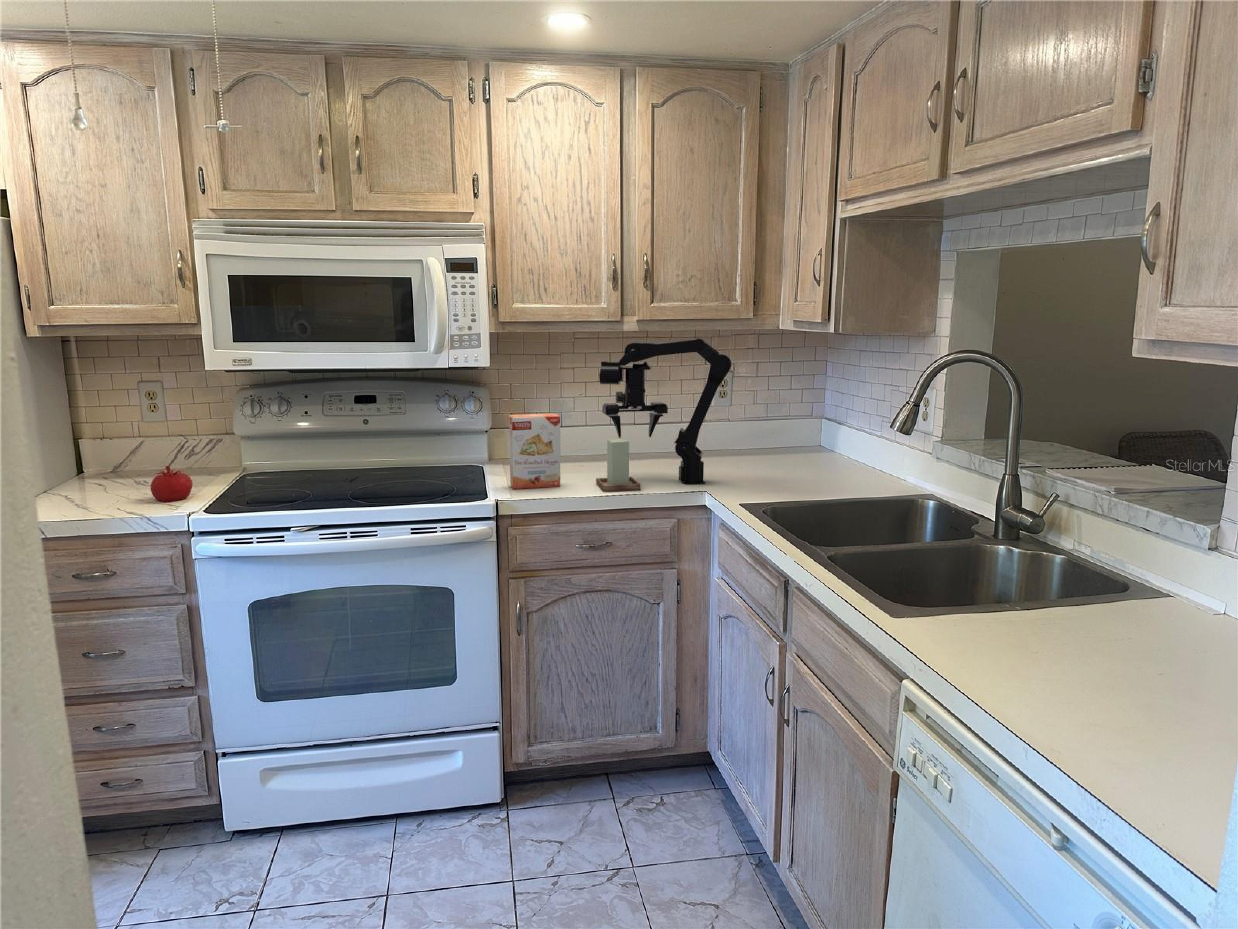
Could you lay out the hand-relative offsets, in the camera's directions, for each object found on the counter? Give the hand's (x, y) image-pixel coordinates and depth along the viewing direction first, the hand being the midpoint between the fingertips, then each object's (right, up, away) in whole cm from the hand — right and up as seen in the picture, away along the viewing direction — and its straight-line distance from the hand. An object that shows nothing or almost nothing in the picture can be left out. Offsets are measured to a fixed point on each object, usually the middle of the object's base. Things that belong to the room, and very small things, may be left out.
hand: (634, 437), depth 244 cm
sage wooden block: (-5, -14, -7) cm, 16 cm away
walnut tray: (-5, -15, -7) cm, 17 cm away
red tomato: (-126, -18, -21) cm, 129 cm away
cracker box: (-29, -15, -6) cm, 33 cm away
